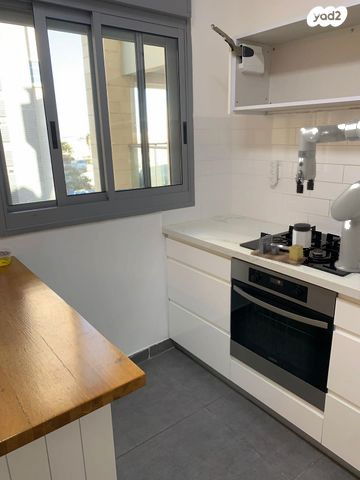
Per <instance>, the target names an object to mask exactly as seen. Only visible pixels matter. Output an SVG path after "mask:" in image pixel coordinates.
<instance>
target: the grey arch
mask: <svg viewBox="0 0 360 480" xmlns="http://www.w3.org/2000/svg"><path fill="white" fill-rule="evenodd" d="M273 237H274V236H273V235H272V234H267V235H265V236H261V237H259V238H258V249H259V254H266V253H268V252H270V251H272V248H274V247H271V246H270V244H271V243H273V244H274V240H273Z"/></svg>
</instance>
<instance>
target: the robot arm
mask: <svg viewBox="0 0 360 480" xmlns="http://www.w3.org/2000/svg"><path fill="white" fill-rule="evenodd" d="M298 131H299V132H298V153H297V158H298V161H297V168H296V171H297V172H296V174H295V177H294V178H295V182H296V183H295V185H296V191H295V192H296V194H302V195H303V194H304V186H305V185H304V182H305V181H307V182H306V190H307V191H314V190H315V189H314V188H315V179H316V177H317V159H316V154H317V153H316V151H317V144H327V143H336V142H345V141H346V142H358V141H360V117H359V118H358V117H357V118H352V119H349V120H348V121H346V122H342V123H334V124H333V123H332V124H322V125H321V124H319V125H313V126H312V125H309V126H308V125H307V126H301V127H300V128H299V130H298ZM329 209H330V210H329V211H330V216H331V217H332V219H334V220H335V221H337V222H342V224H341V230H340V231H341V232H340V243H339V244H340V245H339V256H338V257H339V258H338V260H337V261H335V262H334V267H335V268H336V269H337V270H339V271H342V272H346V273H347V272H348V273H360V180H357V181H355V182H354V183H351V184H350V185H349V186H348V187H347V188H346V189H345V190H344V191H343V192H342V193H341V194H339V195H338V196H337V197H336V198H335V200H334V201H333V202H332V203H331V205H330V208H329Z"/></svg>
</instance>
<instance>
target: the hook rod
mask: <svg viewBox="0 0 360 480" xmlns="http://www.w3.org/2000/svg"><path fill="white" fill-rule="evenodd" d="M270 246H271V247H273V248H274V247H276V248H279V249H281V250H285V251H289V252H288V253H289V259H291V260H295V261H298V260H300V259H302V258H303V257H304V250H303V246H302V245H297V244H295V245H291V246H287V245H282V244H277V243H274V242H273V243H271V244H270Z"/></svg>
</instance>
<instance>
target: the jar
mask: <svg viewBox="0 0 360 480" xmlns="http://www.w3.org/2000/svg"><path fill="white" fill-rule="evenodd" d="M311 226H312V225H311V224H310V223H305V222H298V223H294V224H293V229H292V245H295V244H297V245H302V246H303V248H309V247H311V245H312V244H311V243H312V227H311ZM292 245H291V246H292ZM311 248H312V247H311ZM309 249H310V248H309Z"/></svg>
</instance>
